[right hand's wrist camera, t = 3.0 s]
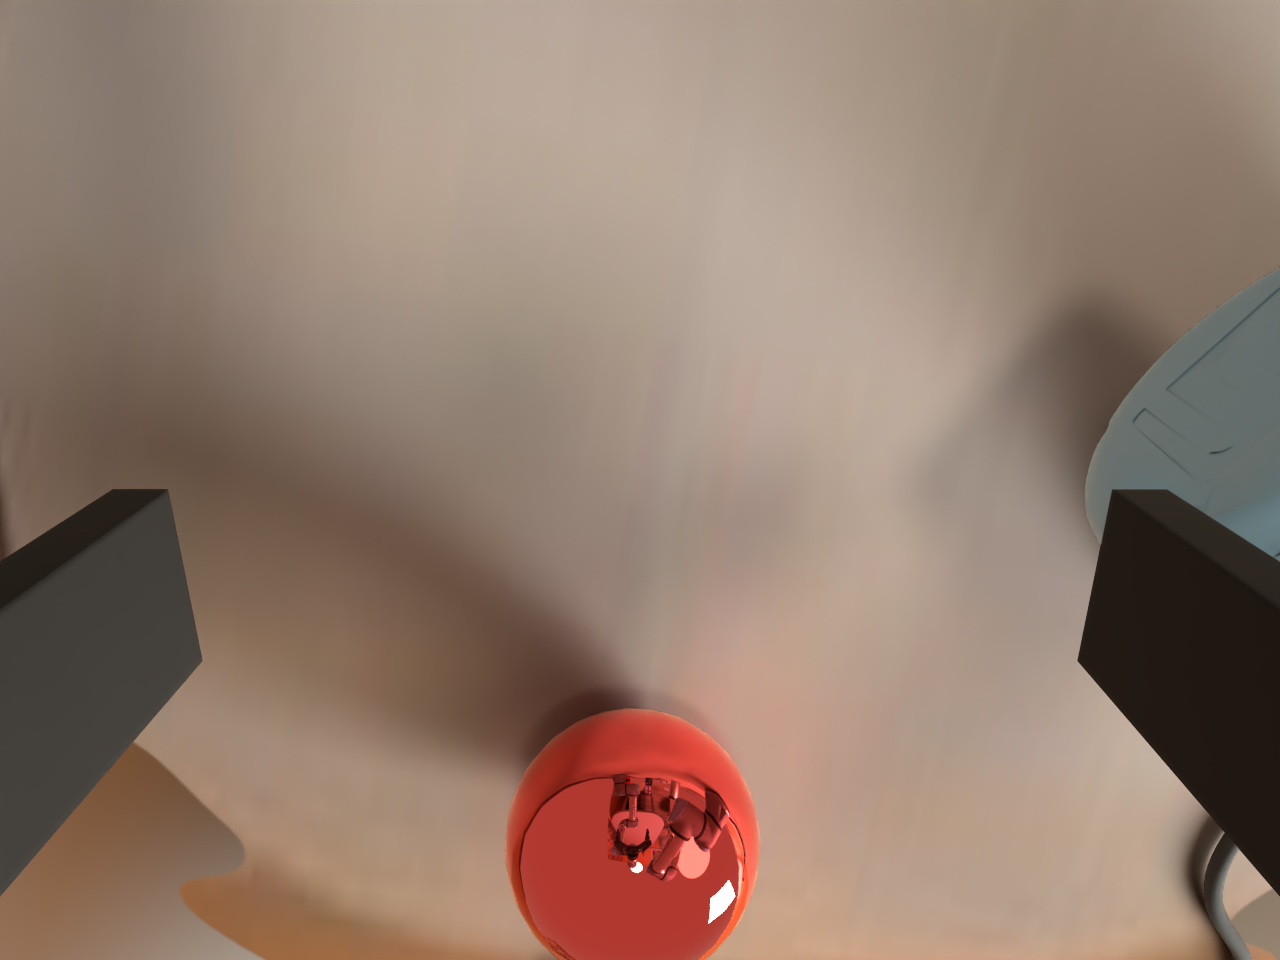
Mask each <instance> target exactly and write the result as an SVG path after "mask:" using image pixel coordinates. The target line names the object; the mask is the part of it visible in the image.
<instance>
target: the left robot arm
mask: <svg viewBox="0 0 1280 960" xmlns="http://www.w3.org/2000/svg"><path fill="white" fill-rule="evenodd" d="M1112 489H1167V490H1169V491H1171V492H1172V493H1174V494H1175V495H1177V496H1178V497H1180V498H1181V499H1183V500H1185V501H1186V502H1188V503H1189V504H1191V505H1192V506H1194V507H1195V508H1197V509H1199V510H1200V511H1202V512H1203V513H1205V514H1206V515H1208V516H1210V517H1211V518H1213V519H1214V520H1216V521H1217V522H1219V523H1220V524H1222V525H1224V526H1225V527H1227V528H1228V529H1230V530H1231V531H1233V532H1234V533H1236V534H1238V535H1239V536H1241V537H1242V538H1244V539H1245V540H1247V541H1249V542H1250V543H1252V544H1253V545H1255V546H1256V547H1258V548H1259V549H1261V550H1263V551H1264V552H1266V553H1267V554H1269V555H1270V556H1272V557H1273V558H1275V559H1277V560H1278V561H1280V268H1278V269H1276V270H1274V271H1272V272H1271V273H1269V274H1267V275H1265V276H1263V277H1262V278H1260V279H1258V280H1257V281H1255V282H1254V283H1252V284H1251V285H1249V286H1248V287H1246V288H1244V289H1243V290H1241V291H1240V292H1238V293H1237V294H1235V295H1234V296H1233V297H1231V298H1230V299H1228V300H1227V301H1225V302H1224V303H1223V304H1221V305H1220V306H1219V307H1217V308H1216V309H1215V310H1213V311H1212V312H1211V313H1210V314H1208V315H1207V316H1206V317H1205V318H1203V319H1202V320H1201V321H1200V322H1198V323H1197V324H1196V325H1195V326H1193V327H1192V328H1191V329H1190V330H1189V331H1188V332H1186V333H1185V334H1184V335H1183V336H1182V337H1181V338H1180V339H1179V340H1178V341H1176V342H1175V343H1174V344H1173V345H1172V346H1171V347H1170V348H1169V349H1168V350H1167V351H1166V352H1165V353H1164V354H1163V355H1162V356H1161V357H1160V358H1159V359H1158V360H1157V361H1156V362H1155V363H1154V364H1153V365H1152V366H1151V367H1150V369H1149V370H1148V371H1147V372H1146V373H1145V374H1144V375H1143V376H1142V377H1141V379H1140V380H1139V381H1138V382H1137V383H1136V385H1135V386H1134V387H1133V388H1132V389H1131V391H1130V392H1129V393H1128V395H1127V396H1126V397H1125V398H1124V400H1123V401H1122V403H1121V404H1120V406H1119V407H1118V409H1117V410H1116V412H1115V413H1114V415H1113V416H1112V418H1111V419H1110V422H1109V426H1108V429H1107V431H1106V432H1105V434H1104V435H1103V437H1102V438H1101V440H1100V441H1099V443H1098V444H1097V446H1096V449H1095V451H1094V454H1093V456H1092V459H1091V463H1090V466H1089V470H1088V474H1087V478H1086V484H1085V509H1086V515H1087V519H1088V522H1089V525H1090V528H1091V530H1092V531H1093V533H1094V535H1095V537H1096V539H1097V540H1098V542H1099V543H1100V545H1101V542H1102V537H1103V532H1104V527H1105V522H1106V517H1107V512H1108V507H1109V502H1110V497H1111V492H1112ZM1238 851H1239V848H1238V847H1237V846H1236V845H1235V844H1234V842H1233V841H1232V840H1231V839H1230V838H1229V837H1228V835H1227V834H1226V833H1224V835H1223V836H1222V838H1221V839H1220V841H1219V843H1218V844H1217V846H1216V848H1215V850H1214V852H1213V854H1212V856H1211V858H1210V861H1209V863H1208V867H1207V870H1206V874H1205V880H1204V901H1205V907H1206V910H1207V913H1208V916H1209V918H1210V920H1211V922H1212V924H1213V925H1214V927H1215V929H1216V930H1217V932H1218V933H1219V935H1220V936H1221V937H1222V939H1223V940H1224V942H1225V943H1226V945H1227V946H1228V948H1229V950H1230V952H1231V953H1232V956H1233V958H1234V960H1252V957H1251V954H1250V952H1249V949H1248V948H1247V946H1246V944H1245V942H1244V941H1243V939H1242V938H1241V936H1240V935H1239V933H1238V932H1237V930H1236V929H1235V927H1234V926H1233V924H1232V923H1231V921H1230V919H1229V917H1228V915H1227V913H1226V911H1225V908H1224V905H1223V887H1224V882H1225V878H1226V875H1227V872H1228V870H1229V867H1230V865H1231V863H1232V861H1233V859H1234V857H1235V856H1236V854H1237V852H1238Z"/></svg>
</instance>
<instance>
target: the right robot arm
mask: <svg viewBox="0 0 1280 960" xmlns="http://www.w3.org/2000/svg"><path fill="white" fill-rule="evenodd" d="M201 662H202V656H201V651H200V646H199V641H198V636H197V631H196V626H195V621H194V616H193V611H192V606H191V601H190V596H189V591H188V586H187V581H186V576H185V571H184V566H183V562H182V557H181V552H180V547H179V542H178V537H177V532H176V527H175V522H174V517H173V512H172V507H171V502H170V497H169V492H168V489H113V490H111V491H109V492H108V493H106V494H105V495H103V496H102V497H100V498H99V499H97V500H95V501H94V502H92V503H91V504H89V505H88V506H86V507H85V508H83V509H81V510H80V511H78V512H77V513H75V514H74V515H72V516H70V517H69V518H67V519H66V520H64V521H63V522H61V523H60V524H58V525H56V526H55V527H53V528H52V529H50V530H49V531H47V532H46V533H44V534H42V535H41V536H39V537H38V538H36V539H35V540H33V541H31V542H30V543H28V544H27V545H25V546H24V547H22V548H21V549H19V550H17V551H16V552H14V553H13V554H11V555H10V556H8V557H7V558H5V559H3V560H2V561H0V896H1V895H2V894H3V893H4V891H5V890H6V889H7V888H8V887H9V886H10V884H11V883H12V882H13V881H14V880H15V879H16V877H17V876H18V875H19V874H20V873H21V872H22V870H23V869H24V868H25V867H26V866H27V865H28V863H29V862H30V861H31V860H32V859H33V858H34V856H35V855H36V854H37V853H38V852H39V851H40V849H41V848H42V847H43V846H44V845H45V844H46V842H47V841H48V840H49V839H50V838H51V837H52V835H53V834H54V833H55V832H56V831H57V830H58V828H59V827H60V826H61V825H62V824H63V823H64V822H65V820H66V819H67V818H68V817H69V816H70V814H71V813H72V812H73V811H74V810H75V809H76V808H77V806H78V805H79V804H80V803H81V802H82V800H83V799H84V798H85V797H86V796H87V795H88V794H89V792H90V791H91V790H92V789H93V788H94V787H95V785H96V784H97V783H98V782H99V781H100V780H101V778H102V777H103V776H104V775H105V774H106V772H107V771H108V770H109V769H110V768H111V767H112V766H113V764H114V763H115V762H116V761H117V760H118V759H119V757H120V756H121V755H122V754H123V753H124V752H125V750H126V749H127V748H128V747H129V746H130V745H131V743H132V742H133V741H134V740H135V739H136V738H137V737H138V735H139V734H140V733H141V732H142V731H143V730H144V728H145V727H146V726H147V725H148V724H149V723H150V721H151V720H152V719H153V718H154V717H155V716H156V714H157V713H158V712H159V711H160V710H161V709H162V707H163V706H164V705H165V704H166V703H167V702H168V700H169V699H170V698H171V697H172V696H173V695H174V693H175V692H176V691H177V690H178V689H179V688H180V686H181V685H182V684H183V683H184V682H185V681H186V679H187V678H188V677H189V676H190V675H191V674H192V672H193V671H194V670H195V669H196V668H197V667H198V665H199V664H200V663H201ZM1078 662H1079V663H1080V664H1081V665H1082V667H1083V668H1084V669H1085V670H1086V671H1087V672H1088V674H1089V675H1090V676H1091V677H1092V678H1093V679H1094V681H1095V682H1096V683H1097V684H1098V685H1099V686H1100V688H1101V689H1102V690H1103V691H1104V692H1105V693H1106V695H1107V696H1108V697H1109V698H1110V699H1111V700H1112V702H1113V703H1114V704H1115V705H1116V706H1117V707H1118V709H1119V710H1120V711H1121V712H1122V713H1123V714H1124V716H1125V717H1126V718H1127V719H1128V720H1129V721H1130V723H1131V724H1132V725H1133V726H1134V727H1135V728H1136V730H1137V731H1138V732H1139V733H1140V734H1141V735H1142V737H1143V738H1144V739H1145V740H1146V741H1147V742H1148V743H1149V745H1150V746H1151V747H1152V748H1153V749H1154V750H1155V752H1156V753H1157V754H1158V755H1159V756H1160V757H1161V759H1162V760H1163V761H1164V762H1165V763H1166V764H1167V766H1168V767H1169V768H1170V769H1171V770H1172V771H1173V773H1174V774H1175V775H1176V776H1177V777H1178V778H1179V780H1180V781H1181V782H1182V783H1183V784H1184V785H1185V787H1186V788H1187V789H1188V790H1189V791H1190V792H1191V794H1192V795H1193V796H1194V797H1195V798H1196V799H1197V801H1198V802H1199V803H1200V804H1201V805H1202V806H1203V808H1204V809H1205V810H1206V811H1207V812H1208V813H1209V815H1210V816H1211V817H1212V818H1213V819H1214V820H1215V822H1216V823H1217V824H1218V825H1219V826H1220V827H1221V828H1222V830H1223V831H1224V832H1225V833H1226V834H1227V835H1228V837H1229V838H1230V839H1231V840H1232V841H1233V842H1234V844H1235V845H1236V846H1237V847H1238V848H1239V849H1240V851H1241V852H1242V853H1243V854H1244V855H1245V856H1246V858H1247V859H1248V860H1249V861H1250V862H1251V863H1252V865H1253V866H1254V867H1255V868H1256V869H1257V870H1258V872H1259V873H1260V874H1261V875H1262V876H1263V877H1264V879H1265V880H1266V881H1267V882H1268V883H1269V884H1270V886H1271V887H1272V888H1273V889H1274V890H1275V891H1276V893H1277V894H1278V895H1279V896H1280V561H1278V560H1277V559H1275V558H1273V557H1272V556H1270V555H1269V554H1267V553H1266V552H1264V551H1263V550H1261V549H1259V548H1258V547H1256V546H1255V545H1253V544H1252V543H1250V542H1249V541H1247V540H1245V539H1244V538H1242V537H1241V536H1239V535H1238V534H1236V533H1234V532H1233V531H1231V530H1230V529H1228V528H1227V527H1225V526H1224V525H1222V524H1220V523H1219V522H1217V521H1216V520H1214V519H1213V518H1211V517H1210V516H1208V515H1206V514H1205V513H1203V512H1202V511H1200V510H1199V509H1197V508H1195V507H1194V506H1192V505H1191V504H1189V503H1188V502H1186V501H1185V500H1183V499H1181V498H1180V497H1178V496H1177V495H1175V494H1174V493H1172V492H1171V491H1169V490H1167V489H1112V492H1111V497H1110V502H1109V507H1108V512H1107V517H1106V522H1105V527H1104V532H1103V537H1102V542H1101V547H1100V552H1099V557H1098V562H1097V566H1096V571H1095V576H1094V581H1093V586H1092V591H1091V596H1090V601H1089V606H1088V611H1087V616H1086V621H1085V626H1084V631H1083V636H1082V641H1081V646H1080V651H1079V656H1078Z"/></svg>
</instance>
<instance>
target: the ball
mask: <svg viewBox="0 0 1280 960" xmlns="http://www.w3.org/2000/svg"><path fill="white" fill-rule="evenodd" d="M504 852H505V862H506V867H507V872H508V877H509V883H510V888H511V892H512V895H513V898H514V901H515V903H516V905H517V907H518V909H519V911H520V912H521V914H522V916H523V918H524V920H525V922H526V924H527V925H528V927H529V929H530V930H531V932H532V933H533V935H534V936H535V937H536V938H537V939H538V940H539V941H540V942H541V943H542V944H543V945H544V947H545V948H546V949H547V950H548V951H549V952H550V953H551V954H552V955H553V956H554V957H556V958H557V959H558V960H705V959H706V958H708V957H709V956H711V955H712V954H713V953H714V952H716V951H717V950H718V949H719V947H720V946H721V945H722V944H723V943H724V942H725V940H726V939H727V938H728V937H729V935H730V934H731V933H732V932H733V931H734V929H735V928H736V927H737V925H738V924H739V922H740V921H741V919H742V916H743V914H744V912H745V910H746V907H747V905H748V903H749V900H750V898H751V896H752V893H753V891H754V888H755V885H756V881H757V875H758V865H759V854H760V829H759V825H758V820H757V816H756V811H755V807H754V802H753V798H752V795H751V792H750V790H749V788H748V786H747V784H746V782H745V780H744V778H743V777H742V775H741V773H740V772H739V770H738V768H737V766H736V765H735V763H734V761H733V760H732V758H731V757H730V756H729V754H728V753H727V752H726V751H725V750H724V749H723V748H722V747H721V746H720V745H718V744H717V743H716V742H715V741H714V740H713V739H712V738H711V737H710V736H709V735H708V734H707V733H706V732H704V731H703V730H701V729H699V728H697V727H696V726H694V725H692V724H690V723H689V722H687V721H685V720H683V719H682V718H680V717H677V716H674V715H670V714H667V713H664V712H660V711H657V710H649V709H636V708H625V709H618V710H611V711H604V712H601V713H598V714H596V715H593V716H590V717H587V718H585V719H582V720H580V721H578V722H576V723H574V724H573V725H571V726H570V727H568V728H567V729H565V730H564V731H562V732H561V733H559V734H558V735H556V736H555V737H554V738H553V739H551V740H550V741H549V743H548V744H547V745H546V746H545V747H544V748H543V749H542V751H541V752H540V753H539V754H538V755H537V756H536V757H535V758H534V760H533V761H532V762H531V763H530V764H529V766H528V767H527V769H526V771H525V773H524V775H523V777H522V779H521V781H520V784H519V786H518V788H517V790H516V792H515V794H514V797H513V799H512V802H511V804H510V808H509V813H508V821H507V829H506V837H505V847H504Z"/></svg>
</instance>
